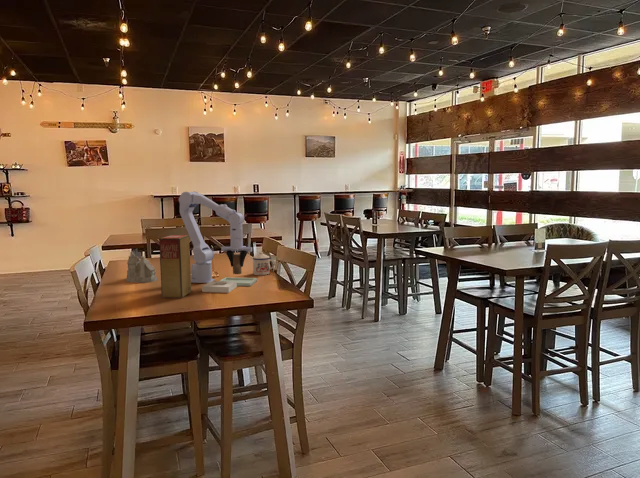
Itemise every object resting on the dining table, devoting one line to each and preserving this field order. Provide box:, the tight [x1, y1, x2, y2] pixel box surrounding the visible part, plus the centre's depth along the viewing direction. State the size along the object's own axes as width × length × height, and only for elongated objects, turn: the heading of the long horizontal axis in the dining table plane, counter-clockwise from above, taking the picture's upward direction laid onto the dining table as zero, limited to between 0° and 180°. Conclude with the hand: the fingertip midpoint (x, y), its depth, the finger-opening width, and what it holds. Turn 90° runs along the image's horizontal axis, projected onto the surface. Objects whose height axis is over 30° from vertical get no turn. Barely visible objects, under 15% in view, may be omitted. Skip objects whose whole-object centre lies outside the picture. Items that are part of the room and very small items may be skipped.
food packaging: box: [158, 234, 192, 299], centre depth 200 cm, size 13×9×25 cm
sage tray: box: [219, 276, 258, 287], centre depth 225 cm, size 16×12×2 cm
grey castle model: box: [125, 251, 158, 284], centre depth 234 cm, size 16×16×15 cm
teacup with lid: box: [252, 251, 276, 276], centre depth 249 cm, size 12×9×12 cm
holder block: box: [201, 280, 238, 294], centre depth 212 cm, size 12×12×2 cm
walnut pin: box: [232, 253, 242, 275], centre depth 224 cm, size 4×4×9 cm
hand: (237, 266), depth 224 cm, fingers closed on walnut pin, 4 cm apart
